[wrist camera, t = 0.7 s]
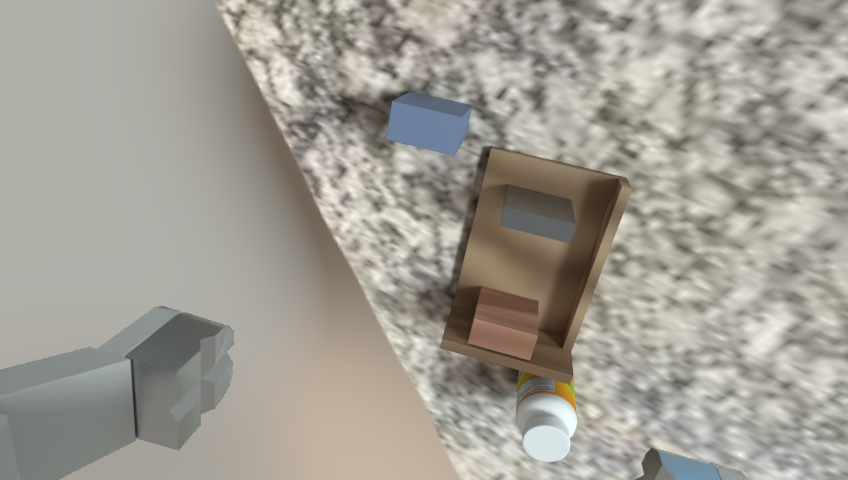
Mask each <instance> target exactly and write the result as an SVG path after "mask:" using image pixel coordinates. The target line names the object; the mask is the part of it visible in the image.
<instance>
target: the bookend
mask: <svg viewBox="0 0 848 480" xmlns="http://www.w3.org/2000/svg"><path fill="white" fill-rule="evenodd" d="M499 226H502V227H506V228H510V229H514V230H518V231H522V232H526V233H530V234H534V235H538V236H542V237H546V238H550V239H554V240H557V241H561V242H565V243H569V244H570V241H571V238H572V235H573V232H574V229H575V226H576V221H575V216H574V210H573V204H572V200H571V199H566V198H562V197H558V196H554V195H550V194H546V193H542V192H538V191H533V190H529V189H525V188H521V187H517V186H513V185H509V186H508V190H507V194H506V197H505V201H504V206H503V211H502V216H501V220H500V225H499Z"/></svg>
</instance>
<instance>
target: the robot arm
mask: <svg viewBox="0 0 848 480" xmlns="http://www.w3.org/2000/svg"><path fill="white" fill-rule="evenodd" d="M233 334H234V331H233V330H232V328H231V327H230V326H227V325H223V324H221V323H217V322H214V321H211V320H208V319H205V318H201V317H198V316H195V315H192V314H189V313H183V312H181V311H178V310H174V309H171V308H168V307H165V306H159V307H154V308H153V309H152V310H150V311H149V312H148V313H146V314H145V315H143V316H142V317H141V318H139V319H138V320H136V321H135V322H134V323H132V324H131V325H130V326H128V327H127V328H125V329H124V330H123V331H121V332H120V333H118V334H117V335H116V336H114V337H113V338H112V339H110V340H109V341H108V342H106V343H105V344H103V345H102V346H100V347H99V348H98V349H95V348H92V347H87V348H83V349H80V350H76V351H72V352H68V353H64V354H60V355H56V356H52V357H48V358H44V359H41V360H37V361H33V362H29V363H25V364H21V365H17V366H14V367H10V368H6V369H2V370H0V480H59V479H61V478H63V477H65V476H67V475H69V474H71V473H72V472H74V471H77V470H79V469H81V468H83V467H85V466H86V465H89V464H90V463H92V462H94V461H97V460H98V459H100V458H102V457H104V456H106V455H108V454H110V453H112V452H114V451H116V450H118V449H120V448H122V447H124V446H126V445H128V444H130V443H132V442H134V441H135V440H136V438H138V439H141V440H144V441H148V442H151V443H155V444H158V445H162V446H165V447H169V448H172V449H176V450H180V448H181V447H182V446H183V445H184V444H185V443H186V441H187V440H188V439H189V438H190V437H191V435H192V434H193V433H194V432H195V431H196V430H197V429H198V427H199V426H200V425H201V414H203V413H205V412H207V411H210V410H212V409H215V407H216V406H217V405H218V404H219V402H220V401H221V400H222V399H223V397H224V395H225V393H226V391H227V389H228V387H229V385H230V381H231V377H232V373H233V362H232V360H231V359H230V357H229V355H228V354H227V351H228V350H229V349H230V348H231V347H232V346H233V345H234V335H233ZM642 467H643V472H644V475H643V476H641V477H639V478H637V479H635V480H748V479H747V477H746V476H745V475H744V474H743V473H742V472H741V471H739V470H735V469H731V468H728V467H724V466H720V465H716V464H712V463H710V464H709V463H706V462H702V461H699V460H695V459H692V458H688V457H684V456H681V455H677V454H674V453H670V452H667V451H663V450H659V449H656V448H651V449H650V450H649V451H648V452H647V453H646V455H645V457H644V459H643V461H642Z"/></svg>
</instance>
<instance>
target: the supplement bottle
mask: <svg viewBox="0 0 848 480" xmlns="http://www.w3.org/2000/svg"><path fill="white" fill-rule="evenodd" d="M516 423H517V426H518V428H519V430H520V432H521V433H522V442H523V447H524V449H525V451H526V452H527V453H528V454H529V455H530V456H531V457H533V458H535V459H537V460H540V461H545V462H553V461H557V460H560V459H562V458H563V457H565V456H566V454H567V453H568V451H569V449H570V437H571V436H572V435H573V433H574V432H575V429H576V425H577V415H576V405H575V393H574V381H573V378H572V380H571V383H570V385H569V384H565V383H562V382H558V381H555V380H551V379H548V378H544V377H541V376H537V375H534V374H530V373H527V372H523V371H519V375H518V389H517V405H516Z"/></svg>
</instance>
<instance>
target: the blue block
mask: <svg viewBox="0 0 848 480" xmlns="http://www.w3.org/2000/svg"><path fill="white" fill-rule="evenodd" d="M471 109H472V105H468V104H464V103H459V102H455V101H450V100H446V99H442V98H437V97H433V96H428V95H424V94H420V93H415V92H411V91H410V92H408V93H406V94H404V95H402V96H401V97H399V98H397V99H395V100H393V101H392V105H391V111H390V118H389V124H388V131H387V137H386V140H391V141H395V142H399V143H403V144H407V145H411V146H416V147H420V148H424V149H428V150H432V151H436V152H441V153H445V154H449V155H453V156H454V155H455V154H456V152H457V151H458V149H459V148H460V146H461V145H462V143H463V141H464V140H465V136H466V131H467V127H468V122H469V118H470V113H471Z"/></svg>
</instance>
